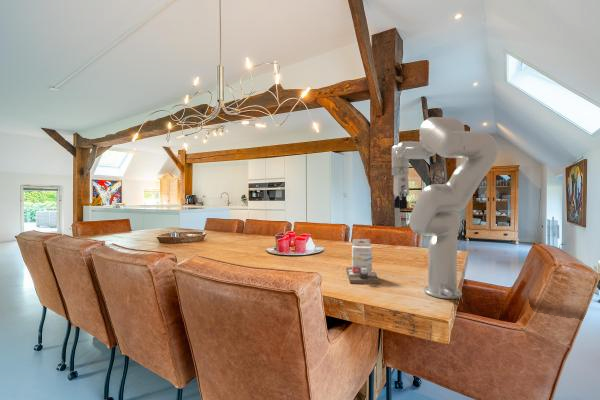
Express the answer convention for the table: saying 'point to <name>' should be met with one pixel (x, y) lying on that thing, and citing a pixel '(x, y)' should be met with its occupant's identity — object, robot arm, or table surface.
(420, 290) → the table surface
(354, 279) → the board
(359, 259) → the ink cartridge box
